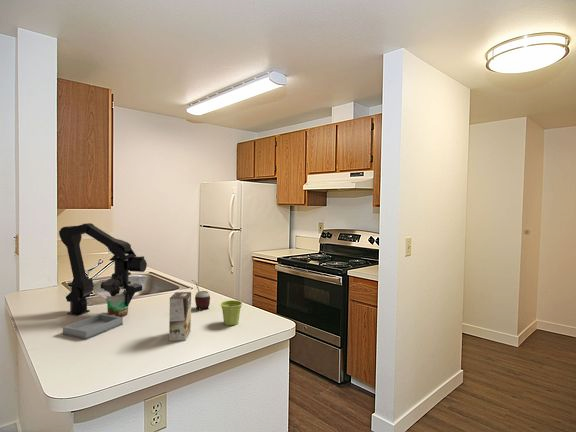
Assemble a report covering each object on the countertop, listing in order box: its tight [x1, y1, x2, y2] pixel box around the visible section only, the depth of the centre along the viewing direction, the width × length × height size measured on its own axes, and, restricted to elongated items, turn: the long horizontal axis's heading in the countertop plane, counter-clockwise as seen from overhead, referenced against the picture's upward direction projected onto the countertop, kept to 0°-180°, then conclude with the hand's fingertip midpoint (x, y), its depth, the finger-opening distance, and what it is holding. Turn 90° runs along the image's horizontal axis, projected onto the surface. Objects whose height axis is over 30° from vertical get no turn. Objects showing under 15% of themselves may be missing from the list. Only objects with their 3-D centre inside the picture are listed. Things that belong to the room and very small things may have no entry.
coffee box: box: [168, 291, 192, 342], centre depth 134 cm, size 9×6×16 cm
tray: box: [62, 313, 124, 341], centre depth 139 cm, size 12×17×3 cm
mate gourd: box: [191, 279, 211, 312], centre depth 167 cm, size 8×8×15 cm
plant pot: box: [219, 300, 243, 326], centre depth 149 cm, size 9×9×9 cm
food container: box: [105, 289, 129, 318], centre depth 155 cm, size 12×6×10 cm, turn 168°
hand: (121, 305), depth 156 cm, fingers closed on food container, 6 cm apart
